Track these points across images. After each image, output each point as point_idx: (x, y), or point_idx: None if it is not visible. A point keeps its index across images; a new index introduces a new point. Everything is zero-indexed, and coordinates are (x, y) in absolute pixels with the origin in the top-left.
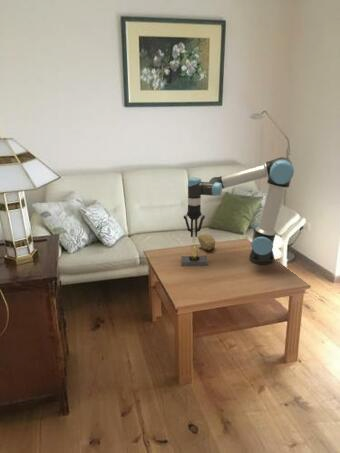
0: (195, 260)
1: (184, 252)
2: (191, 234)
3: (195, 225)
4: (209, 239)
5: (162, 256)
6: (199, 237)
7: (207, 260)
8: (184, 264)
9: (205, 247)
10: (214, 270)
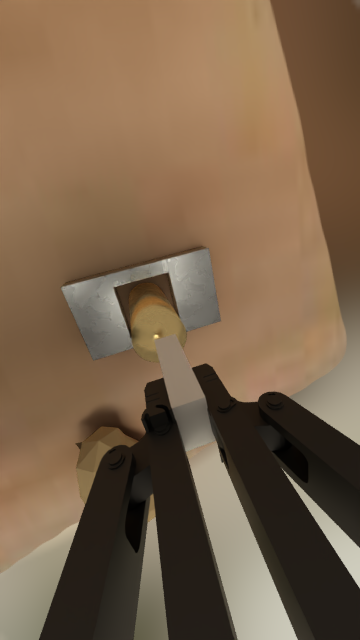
0: (138, 289)
1: None
2: (213, 381)
3: (203, 539)
4: None
5: (293, 327)
6: None
7: (69, 302)
8: (189, 250)
9: (123, 438)
10: (2, 220)
